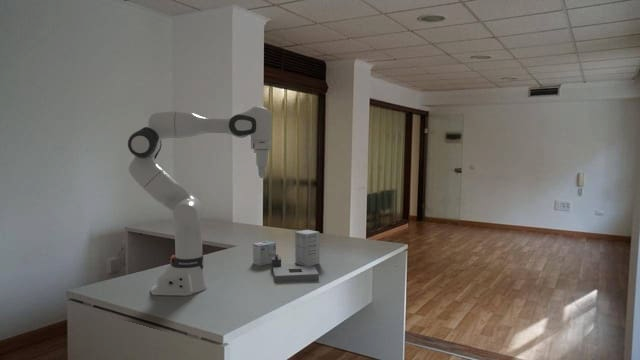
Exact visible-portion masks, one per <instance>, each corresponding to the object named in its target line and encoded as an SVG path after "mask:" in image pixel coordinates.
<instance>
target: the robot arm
mask: <svg viewBox="0 0 640 360" xmlns="http://www.w3.org/2000/svg"><path fill="white" fill-rule="evenodd" d="M272 125H273V124H272V114H271V112H270V110H269V109H268V108H267V107H262V106H252V107H251V108H250V109H248V110H246V111H243V112H242V113H241V112H240V113H237V114H235V115H233V116H232V117H230V118H211V117H203V116H200V115H199V114H196V113H193V112H190V111H189V112H187V111H181V110H179V111H178V110H173V111H172V110H170V111H159V112H154V113H152V114H151V115H150V116H149V117H148V121H147V126H144V127H142V128H141V129H139V130H136V131H134V132H133V133H132V134H131V135H130V136H129V138H128V141H127V147H128V150H129V151H130V154H132V155H133V156H134V158H133V159H132V161H131V162H130V163H129V165H128V173H129V175H130V176H131V177H132V178H133V180H134V181H135V182H136V183H137V184H138V185H139V186H140V187H141V188H142V189H143V190H144V191H145V192H146V193H147V194H148V195H150V196H151V197H152V198H153V199H154V200H156V202H157V203H159V204H161V205H163V206H164V207H165V208H167V209H168V210H170V211H171V212H172V222H173V223H172V224H173V232H174V234H173V235H174V246H175V248H174V249H175V254H172V255H171V256H170V266H168V267H167V268H166V269H165V270H163V271H162V272H161V273H159V275H158V277H157V281H156V284H154V285H153V286H152V287H151V289H150V294H151V295H152V296H185V297H186V296H191V295H193V294H197V293H199V292H200V293H201V292H202V291H203V290H206V289H207V287H208V286H207V283H206V279H205V274H204V267H205V265H204V264H205V260H204V259H205V258H204V254H203V235H202V221H201V219H202V214H203V203H202V202H201V201H200V199H198V198H197V197H196V196H195V195H193V193H191V192H190V191H188V190H187V189H186V188H185V187H183V185H181V184H180V183H178V182H177V181H176V180H175V179H174V178H173V177H171V175H169V173H167V171H165V170H164V169H163V168H162V167H161V166H160V165H159V164H158V163H157V162H156V158H157V157H158V155H159V153H160V151H161V150H162V140H165V139H185V138H192V137H196V136H200V135H204V134H228V135H232V136H234V137H236V138H241V139H242V138H246V137H248V136H250V149H251V150H253V153H255V154H256V156H255V157H256V159H255V164H256V166H257V169H258V176H259V178H260V179H264V178H265V171H266V170H265V168H267V166H268V160H269V159H268V158H269V150H272V144H273V143H272V142H273V141H272V139H273V138H272V134H271V132H272V131H271V130H272Z"/></svg>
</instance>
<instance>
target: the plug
mask: <svg viewBox="0 0 640 360" xmlns="http://www.w3.org/2000/svg"><path fill="white" fill-rule="evenodd" d="M273 267H282V258H281V257H280V256H279V254H278V253H276V254H275V257H272V263H271V272H272V273H273Z"/></svg>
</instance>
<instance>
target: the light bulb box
mask: <svg viewBox="0 0 640 360" xmlns="http://www.w3.org/2000/svg"><path fill="white" fill-rule="evenodd" d="M275 254H277V242H275V241H271V240H265V241H260V242H255V243H252V260H253V261H252V262H253V264H254V265H256V266H260V267H261V266H266V265H269V264H272V257H275Z"/></svg>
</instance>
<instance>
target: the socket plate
mask: <svg viewBox="0 0 640 360" xmlns="http://www.w3.org/2000/svg"><path fill="white" fill-rule="evenodd" d="M272 274H273V278H274V279H273V280H274V282H275V283H292V282H293V283H294V282H295V283H296V282H310V281H311V282H312V281H315V282H316V281H320V277H319V276H320V274H319V271H318V270H317V268H316V266H315V265H311V266H303V265H299V266H297V265H296V266H293V265H292V266H281V267H273V272H272Z"/></svg>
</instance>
